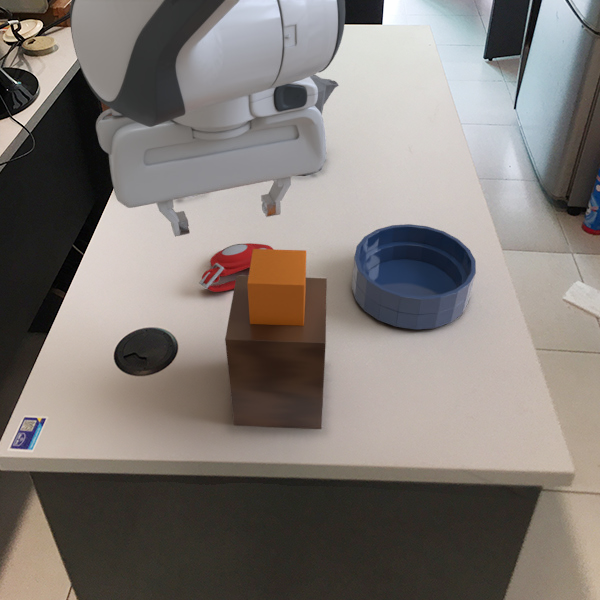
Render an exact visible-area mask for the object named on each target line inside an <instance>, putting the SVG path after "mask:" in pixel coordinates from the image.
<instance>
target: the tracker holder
mask: <svg viewBox="0 0 600 600" xmlns="http://www.w3.org/2000/svg"><path fill="white" fill-rule="evenodd" d="M253 249H274V248H273V247H272V246H270V245H268V244H264V243H250V242H249V243H236V244H232V245H229V246H227V247H225V248H223V249H222V250H220V251H218V252H216V253H215V254H214V255H213V256H211V258H210V261H209V262H210V265H211V268H209V269H207V270H205V272H204V273H203V275H202V276H201V280H200V281H199V285H200V286H202V287H203V288H204V289H206V290H209V291H210V292H213V293H219V292H224V291H230V290H234V288H235V282H236V279H234V280H230V281H227V282H224V283H219V284H215V283H218V282H220V277H227V276H230V275H234V274H236V273H239V272H241V271H244V270H247V269H250V264H251V258H252V251H253ZM213 283H214V284H213Z"/></svg>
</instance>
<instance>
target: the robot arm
mask: <svg viewBox="0 0 600 600" xmlns="http://www.w3.org/2000/svg"><path fill="white" fill-rule="evenodd" d="M70 1H71V2H70V9H69V23H70V25H69V26H70V32H71V33H70V34H71V39H72V44H73V48H74V52H75V55H76V60H77V61H78V65H79V68H80V70H81V72H82V75H83V77H84V79H85V81H86V83H87V85H88V86H89V88H90V90H91V92H92V93H93V95H94V96H95V97H96V98H97V99H98V100H99V101H100V102H102V104H104V105H105V106H106V107H109V108H108V109H105V110H104V111H102V112H101V113H100V115H99V116H98V118H97V119H96V122H95V131H96V135H97V139H98V143H99V144H98V145H99V146H100V147H101V149H102V150H103V151H104V152H105V153H106V154H108V160H109V162H108V163H109V170H110V172H109V173H110V178H111V182H112V187H113V191H114V196H115V198H116V200H117V202H119V203H120V204H121V205H123V206H125V208H127V209H128V208H129V209H133V208H139V207H143V206H148V205H153V204H156V206H157V209H158V211H159V212H160V213H161V214H162V215H163V217H165V218H166V219H167V220H168V221H169V222H170V227H171V229H172V233H173V235H174V237H179V236H180V237H181V236H184V235H189V234H191V233H190V227H189V225H190V224H189V220H188V219H189V218H188V217H187V216H186V212H185V210H182V211H175V210H174V200H179V199H185V198H184V197H188V198H190V197H189V196H193V197H196V196H199V195H205V194H209V193H215V192H219V191H224V190H230V189H235V188H239V187H245V186H250V185H256V184H260V183H265V182H266V183H267V182H270V181H273V183H272V185H271V187H270V189H269V192H268V193H266V194H261V195H260V197H261V199H260V200H261V202H262V203H261V210H262V213H263V214H265V215H264V216H265V218H269V217H274V216H278V215H281V211H282V210H281V201H283V199H284V197H285V195H286V194H287V192H288V190H289V189H290V187H291V186H292V184H291V183H292V182H291V181H292V179H291V178H292V177H297V176H303V175H302V174H307V173H312V172H315V173H318V170H319V169H320V168H321V167H322V168H323V166H324V164H325V162H326V161H327V139H326V137H327V136H326V127H325V121H324V117H323V113H322V114H321V113H320V111H319V110H318V109H317V108H316V107H315V104H316V102H317V99H318V89H317V86H316V84H315V83H314V82H313V80H312V79H311V78H310V76H312V75H316V74H318V73H319V74H320V73H322V72H324V71H325V70H327V68H328V67H329V66H330V65H331V63H332V62H333V60H334V59H335V57H336V55H337V53H338V51H339V48H340V45H341V43H342V39H343V35H344V30H345V23H346V0H70ZM322 165H323V166H322ZM322 168H321V169H322ZM321 169H320V170H321ZM320 170H319V171H320ZM312 174H313V173H312ZM195 195H196V196H195Z"/></svg>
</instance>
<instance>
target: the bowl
mask: <svg viewBox="0 0 600 600" xmlns="http://www.w3.org/2000/svg"><path fill="white" fill-rule="evenodd" d="M352 267H353V268H352V280H351V288H352V292H353V293H352V294H353V296H354V297H353V298H354V300H355V301H356V302H357V304H358V305H359V306H360V307H361V309H362V310H363V311H364V312H366V313H367V314H368V315H370V316H372V317H373V318H375V319H376V320H377V321H379V322H382V323H385V324H387V325H390V326H393V327H396V328H402V329H409V330H429V329H436V328H439V327H442V326H444V325H445V326H446V325H448V324H451V323H452V322H454V321H455V320H456V319H457V318H459V317H460V316H461V315H462V314H463V313H464V312H465V310H466V307H467V306H468V305H469V301H470V297H471V293H472V289H473V285H474V281H475V278H476V273H477V269H476V259H475V257H474V255H473V253H472V252H471V250H470V248H469V247H468V246H466V245H465V244H464V243H463V242H462V241H461V240H460V239H459V238H457V237H455V236H453V235H452V234H450V233H447V232H446V231H444V230H440V229H438V228H434V227H431V226H428V225H420V224H419V225H418V224H411V223H407V224H406V223H405V224H392V225H388V226H385V227H381V228H377V229H375V230H374V231H372V232H370V233H368V234H367V235H365V236H363V238H362V239H361V240H360V241H359V242H358V243H357V245H356V248H355V253H354V256H353V266H352Z"/></svg>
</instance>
